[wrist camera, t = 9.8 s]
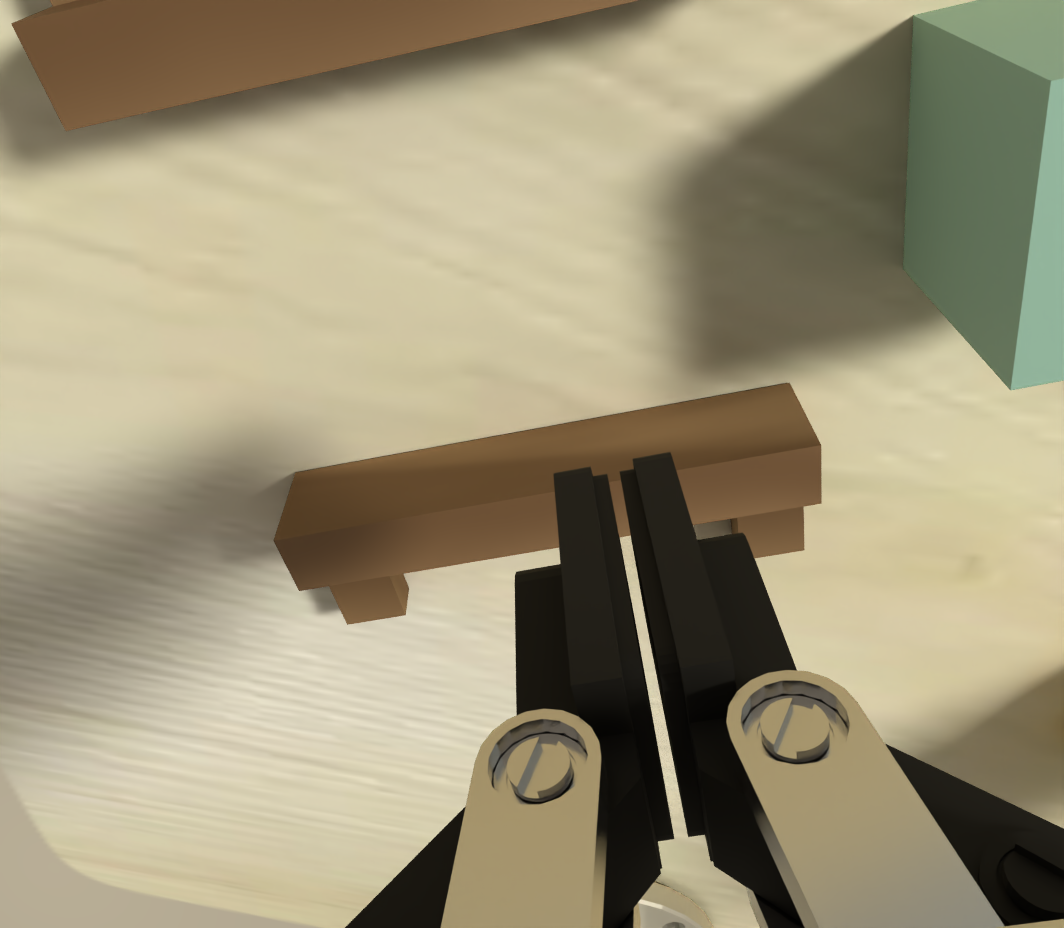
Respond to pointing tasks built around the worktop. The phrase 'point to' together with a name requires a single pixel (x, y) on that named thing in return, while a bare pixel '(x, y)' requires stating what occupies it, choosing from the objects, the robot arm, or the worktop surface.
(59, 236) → the worktop surface
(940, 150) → the block
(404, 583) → the wooden brackets
